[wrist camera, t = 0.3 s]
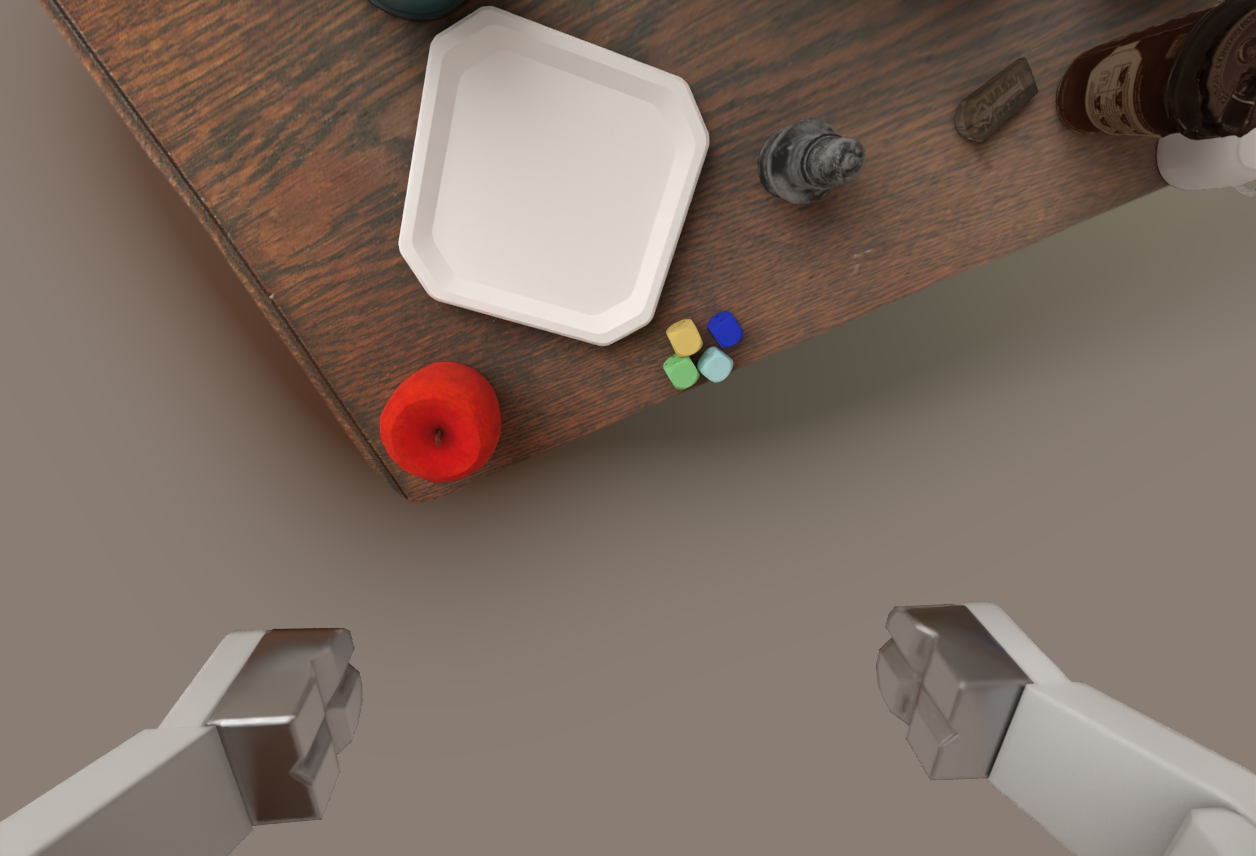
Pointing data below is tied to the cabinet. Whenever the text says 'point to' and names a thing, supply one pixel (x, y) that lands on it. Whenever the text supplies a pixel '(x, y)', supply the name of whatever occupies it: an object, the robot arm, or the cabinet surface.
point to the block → (995, 102)
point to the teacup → (1208, 162)
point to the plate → (548, 178)
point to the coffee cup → (1169, 78)
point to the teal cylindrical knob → (419, 8)
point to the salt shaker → (808, 161)
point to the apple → (442, 422)
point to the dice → (689, 342)
